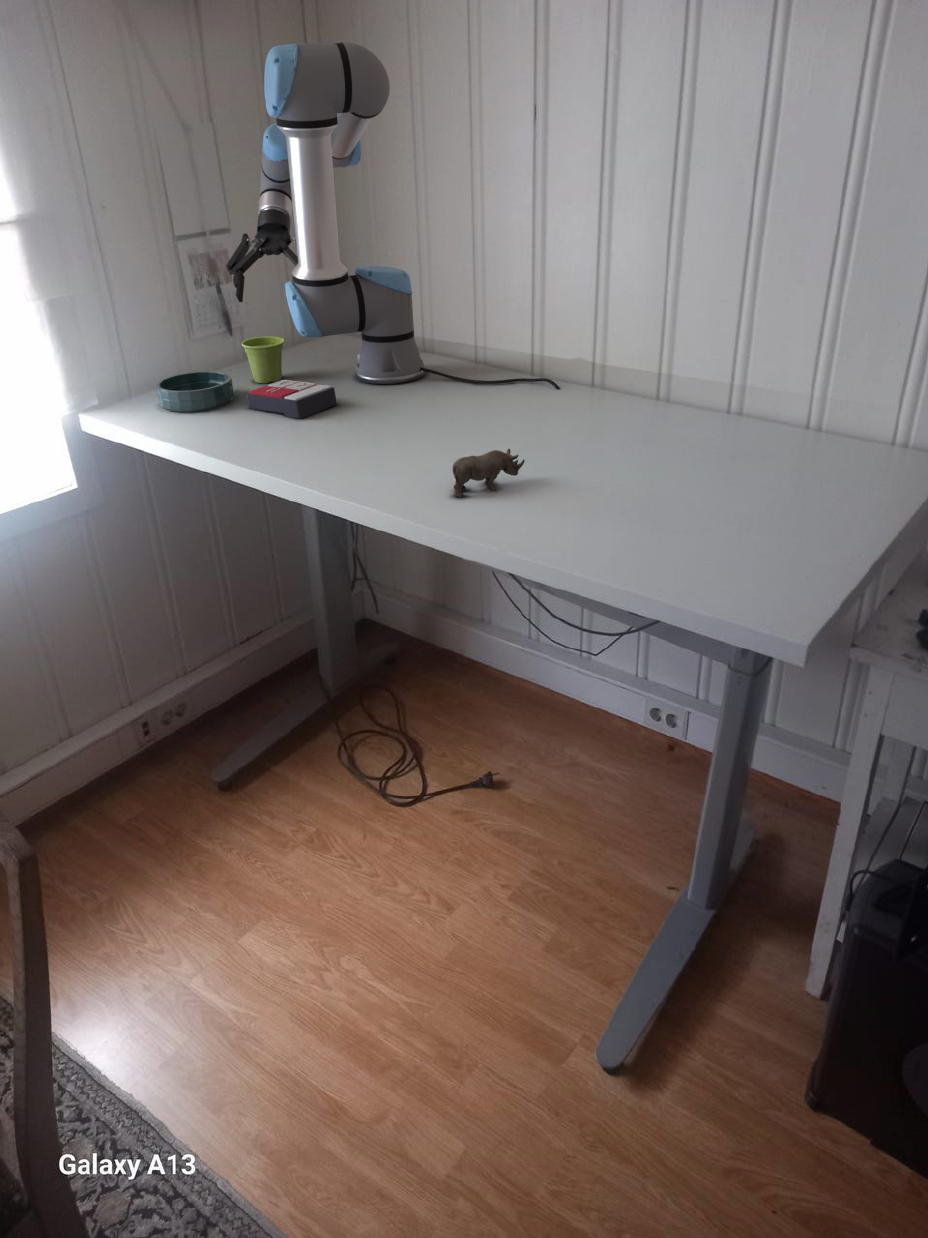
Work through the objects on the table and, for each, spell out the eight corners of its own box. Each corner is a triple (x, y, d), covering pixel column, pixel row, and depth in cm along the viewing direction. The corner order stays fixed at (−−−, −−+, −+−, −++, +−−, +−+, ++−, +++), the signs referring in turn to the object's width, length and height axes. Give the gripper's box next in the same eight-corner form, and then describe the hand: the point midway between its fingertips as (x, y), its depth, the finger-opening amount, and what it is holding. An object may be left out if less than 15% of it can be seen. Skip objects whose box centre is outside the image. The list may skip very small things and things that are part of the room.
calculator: (283, 377, 205) (334, 383, 197) (287, 397, 207) (337, 404, 199) (244, 390, 198) (296, 397, 189) (248, 411, 200) (299, 418, 191)
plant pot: (296, 375, 220) (291, 337, 216) (276, 387, 213) (271, 347, 208) (260, 373, 223) (255, 335, 219) (239, 384, 215) (233, 345, 211)
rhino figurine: (532, 481, 157) (532, 446, 155) (458, 500, 152) (456, 463, 149) (519, 474, 161) (518, 439, 158) (446, 491, 155) (444, 456, 152)
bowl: (249, 398, 206) (246, 377, 204) (191, 417, 196) (187, 395, 193) (203, 387, 214) (200, 367, 212) (145, 405, 204) (141, 384, 202)
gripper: (330, 226, 227) (326, 305, 222) (226, 230, 229) (219, 308, 223) (324, 205, 220) (319, 286, 214) (216, 208, 222) (209, 289, 216)
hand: (268, 298), depth 219 cm, fingers open, 13 cm apart
